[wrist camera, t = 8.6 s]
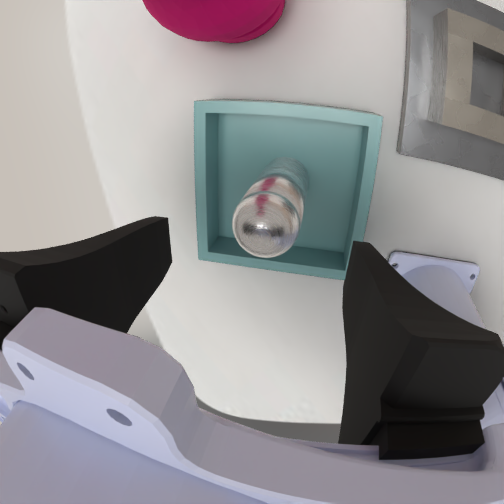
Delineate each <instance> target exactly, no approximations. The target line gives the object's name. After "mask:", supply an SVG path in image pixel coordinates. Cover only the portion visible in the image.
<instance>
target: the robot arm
mask: <svg viewBox="0 0 504 504" xmlns="http://www.w3.org/2000/svg"><path fill="white" fill-rule="evenodd" d="M171 263H172V255H171V245H170V235H169V224H168V218H165V217H156V216H154V217H149V218H145V219H142V220H139V221H136V222H133V223H130V224H127V225H125V226H122V227H119V228H117V229H114V230H111V231H108V232H106V233H103V234H100V235H97V236H94V237H91V238H88V239H85V240H81V241H78V242H74V243H70V244H66V245H61V246H56V247H51V248H46V249H40V250H30V251H20V252H0V421H1V422H2V424H1V426H0V504H504V344H502V342H501V339H500V337H499V335H498V334H496V333H494V332H491V331H489V330H487V329H486V327H485V325H484V323H483V321H482V319H481V317H480V315H479V313H478V311H477V309H476V307H475V305H474V303H473V301H472V299H471V297H470V293H471V291H472V289H473V286H474V284H475V282H476V279H477V277H478V274H479V272H480V268H479V266H478V265H477V264H474V263H468V262H462V261H456V260H449V259H443V258H437V257H430V256H424V255H417V254H410V253H404V252H393V253H392V254H391V255H390V258H389V261H388V262H387V261H386V259H385V258H384V257H383V256H382V255H381V254H380V253H379V252H378V251H377V250H376V249H375V248H374V247H373V246H372V245H371V244H370V243H367V242H360V241H353V244H352V249H351V254H350V258H349V263H348V268H347V272H346V277H345V281H344V285H343V307H342V309H343V320H344V331H345V343H346V361H347V367H346V383H345V395H344V405H343V414H342V421H341V429H340V436H339V442H338V444H334V443H323V442H313V441H304V440H296V439H289V438H282V437H276V436H273V435H270V434H267V433H264V432H261V431H258V430H255V429H252V428H249V427H247V426H244V425H241V424H238V423H236V422H233V421H231V420H228V419H225V418H223V417H220V416H218V415H215V414H213V413H210V412H208V411H206V410H203V409H201V408H199V407H198V405H197V402H196V397H195V391H194V386H193V384H192V383H191V381H190V379H189V377H188V375H187V374H186V372H185V370H184V368H183V366H182V365H181V364H180V363H179V362H178V361H176V360H175V359H174V358H173V357H172V356H170V355H169V354H168V353H167V352H166V351H165V350H163V349H162V348H161V347H159V346H156V345H154V344H152V343H150V342H148V341H146V340H143V339H141V338H139V337H137V336H133V335H130V334H127V332H128V330H129V328H130V327H131V325H132V323H133V322H134V320H135V318H136V317H137V316H138V314H139V313H140V311H141V310H142V309H143V307H144V306H145V304H146V303H147V302H148V300H149V299H150V297H151V296H152V295H153V293H154V292H155V291H156V289H157V288H158V286H159V285H160V284H161V282H162V281H163V279H164V277H165V275H166V273H167V271H168V269H169V267H170V265H171ZM394 263H398V264H397V265H396V266H392V264H394ZM472 274H474V275H473V276H472V277H470V276H471V275H472Z"/></svg>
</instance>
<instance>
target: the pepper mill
mask: <svg viewBox="0 0 504 504" xmlns="http://www.w3.org/2000/svg"><path fill="white" fill-rule="evenodd" d="M143 2H144V4H145V7H146V9H147V10H148V11H149V13H150V14H151V15H152V16H153V17H154V18H155V19H156V20H157V21H158V22H159V23H160V24H161V25H162V26H163V27H165V28H167V29H169V30H170V31H172V32H174V33H176V34H178V35H180V36H182V37H185V38H187V39H192V40H196V41H207V42H210V41H219V42H226V43H239V42H245V41H249V40H252V39H255V38H257V37H259V36H261V35H263V34H264V33H266V32H267V31H268V30H269V29H271V28H272V27H273V26H274V25H275V24H276V22H277V21H278V20H279V18H280V16H281V15H282V12H283V8H284V4H285V0H143Z"/></svg>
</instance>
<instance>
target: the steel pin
mask: <svg viewBox="0 0 504 504" xmlns="http://www.w3.org/2000/svg"><path fill="white" fill-rule="evenodd" d="M308 184H309V176H308V172H307V170H306V168H305V167H304V166H303V164H301V163H300V162H299V161H298V160H296V159H293V158H290V157H279V158H276V159H274V160H272V161H271V162H269V163H268V165H267V166H266V167H265V168H264V170H263V171H262V172H261V174H260V175H259V176H258V178H257V179H256V180H255V182H254V183H253V184H252V186H251V187H250V189H249V190H248V191H247V193H246V194H245V195H244V197H243V198H242V199H241V201H240V202H239V204H238V205H237V207H236V209H235V211H234V214H233V218H232V229H233V233H234V236H235V238H236V240H237V242H238V243H239V245H240V246H241V247H242V248H243V249H244V250H245V251H247V252H248V253H250V254H252V255H254V256H257V257H262V258H271V257H275V256H279V255H281V254H283V253H284V252H286V251H287V250H289V249H290V248H291V247H292V246H293V244H294V243H295V241H296V240H297V238H298V235H299V232H300V227H301V222H302V217H303V212H304V206H305V201H306V195H307V190H308Z"/></svg>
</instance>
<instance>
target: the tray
mask: <svg viewBox="0 0 504 504" xmlns="http://www.w3.org/2000/svg"><path fill="white" fill-rule="evenodd" d="M382 120H383V116H380V115H378V114H375V113H371V112H365V111H359V110H353V109H346V108H339V107H331V106H323V105H314V104H305V103H294V102H281V101H264V100H237V99H209V100H200V101H194V160H195V196H196V221H197V241H198V259H199V260H205V261H211V262H218V263H225V264H232V265H239V266H246V267H253V268H260V269H267V270H274V271H281V272H288V273H295V274H302V275H310V276H317V277H324V278H332V279H339V280H345V277H346V272H347V268H348V263H349V258H350V254H351V249H352V244H353V241H360V242H363V238H364V233H365V228H366V223H367V218H368V213H369V208H370V202H371V197H372V191H373V185H374V179H375V173H376V166H377V159H378V152H379V145H380V137H381V129H382ZM279 157H290V158H293V159H296V160H298V161H299V162H300V163H301V164H303V166H304V167H305V168H306V170H307V172H308V176H309V184H308V190H307V195H306V201H305V206H304V212H303V217H302V222H301V227H300V232H299V235H298V238H297V240H296V241H295V243H294V244H293V246H292V247H291V248H290V249H289V250H287V251H286V252H284V253H283V254H281V255H279V256H275V257H271V258H262V257H257V256H254V255H252V254H250V253H248V252H247V251H245V250H244V249H243V248H242V247H241V246H240V245H239V243H238V242H237V240H236V238H235V236H234V233H233V229H232V218H233V214H234V211H235V209H236V207H237V205H238V204H239V202H240V201H241V199H242V198H243V197H244V195H245V194H246V193H247V191H248V190H249V189H250V187H251V186H252V184H253V183H254V182H255V180H256V179H257V178H258V176H259V175H260V174H261V172H262V171H263V170H264V168H265V167H266V166H267V165H268V163H269V162H271V161H272V160H274V159H276V158H279Z"/></svg>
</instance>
